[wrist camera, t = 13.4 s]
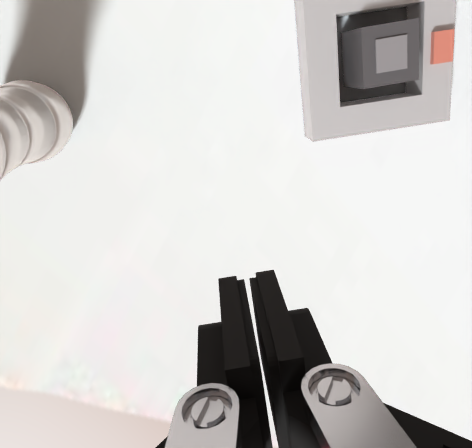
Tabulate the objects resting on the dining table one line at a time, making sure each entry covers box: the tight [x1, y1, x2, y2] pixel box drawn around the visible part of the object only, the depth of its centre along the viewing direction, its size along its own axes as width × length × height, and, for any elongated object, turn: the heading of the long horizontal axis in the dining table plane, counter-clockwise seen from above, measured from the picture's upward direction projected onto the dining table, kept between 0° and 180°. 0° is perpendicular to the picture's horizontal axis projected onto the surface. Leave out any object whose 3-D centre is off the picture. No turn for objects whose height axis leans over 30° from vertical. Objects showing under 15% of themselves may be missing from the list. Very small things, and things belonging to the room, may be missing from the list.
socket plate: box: [294, 0, 456, 141], centre depth 34 cm, size 12×12×4 cm
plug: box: [341, 18, 419, 89], centre depth 33 cm, size 4×4×5 cm
